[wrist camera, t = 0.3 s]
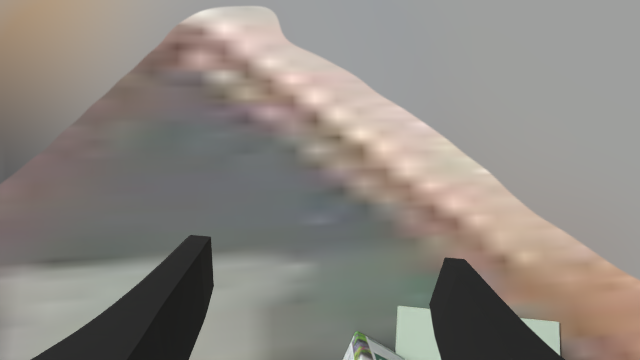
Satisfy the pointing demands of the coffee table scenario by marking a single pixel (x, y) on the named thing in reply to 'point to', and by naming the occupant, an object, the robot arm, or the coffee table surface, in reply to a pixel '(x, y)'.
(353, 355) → the syrup box
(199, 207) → the coffee table surface
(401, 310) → the mat
